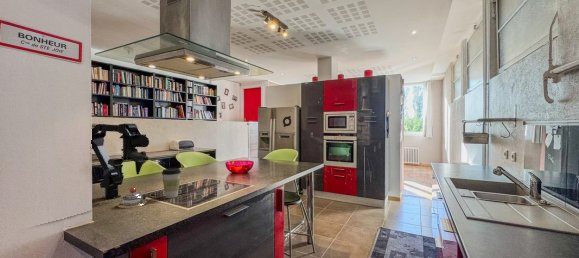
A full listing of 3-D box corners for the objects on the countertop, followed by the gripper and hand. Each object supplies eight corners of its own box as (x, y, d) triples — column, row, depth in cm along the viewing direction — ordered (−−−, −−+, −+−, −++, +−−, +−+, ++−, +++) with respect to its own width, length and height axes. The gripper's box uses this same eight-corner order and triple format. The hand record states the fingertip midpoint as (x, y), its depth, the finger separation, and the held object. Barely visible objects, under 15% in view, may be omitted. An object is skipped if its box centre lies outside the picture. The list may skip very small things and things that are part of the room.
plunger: (122, 196, 122) (122, 188, 122) (134, 193, 128) (134, 185, 128) (131, 198, 120) (130, 189, 120) (142, 195, 125) (142, 186, 125)
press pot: (112, 206, 121) (112, 198, 121) (137, 199, 132) (137, 192, 132) (129, 209, 116) (128, 201, 116) (152, 202, 128) (152, 194, 128)
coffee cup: (175, 198, 133) (175, 171, 133) (157, 198, 133) (157, 171, 133) (184, 193, 143) (184, 168, 143) (167, 193, 143) (167, 168, 143)
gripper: (121, 149, 120) (121, 180, 121) (155, 146, 137) (155, 174, 138) (107, 148, 125) (107, 178, 125) (141, 145, 142) (141, 172, 142)
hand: (129, 175), depth 132 cm, fingers open, 9 cm apart
